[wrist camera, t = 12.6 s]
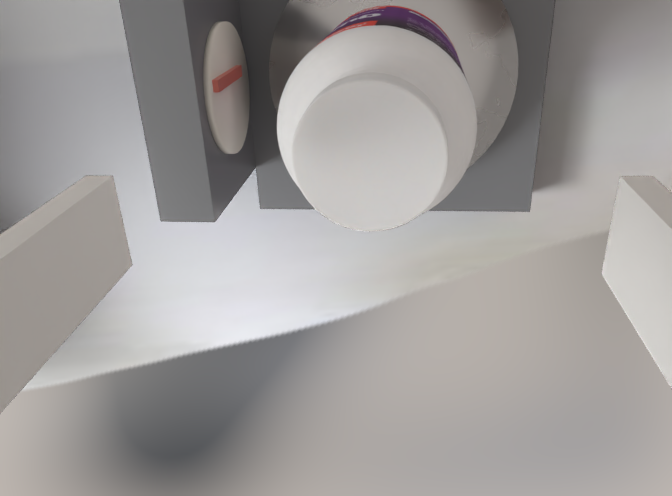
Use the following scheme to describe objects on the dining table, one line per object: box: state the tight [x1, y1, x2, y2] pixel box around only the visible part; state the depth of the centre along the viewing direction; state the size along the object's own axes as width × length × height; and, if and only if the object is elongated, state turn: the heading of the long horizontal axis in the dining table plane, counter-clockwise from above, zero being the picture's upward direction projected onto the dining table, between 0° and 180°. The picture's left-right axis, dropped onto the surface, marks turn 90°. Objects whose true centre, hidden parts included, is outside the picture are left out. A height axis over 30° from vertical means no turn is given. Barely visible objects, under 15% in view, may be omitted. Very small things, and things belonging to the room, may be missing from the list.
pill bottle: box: [277, 5, 477, 232], centre depth 27 cm, size 8×8×14 cm
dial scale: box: [119, 0, 555, 222], centre depth 33 cm, size 21×18×12 cm
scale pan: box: [269, 0, 518, 168], centre depth 34 cm, size 14×14×2 cm
